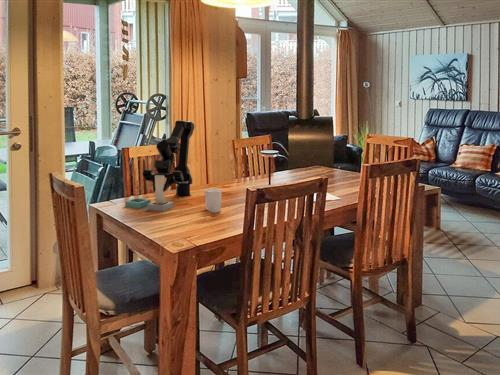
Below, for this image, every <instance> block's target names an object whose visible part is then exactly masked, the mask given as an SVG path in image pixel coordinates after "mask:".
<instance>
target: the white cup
mask: <svg viewBox="0 0 500 375" xmlns="http://www.w3.org/2000/svg"><path fill="white" fill-rule="evenodd" d="M222 190H223V189H221V188H216V187H215V188H207V189H206V188H205V189H204V199H205V200H204V202H205V209H206V211H208V212H210V213H212V214H213V213H221V208H222V192H223V191H222Z"/></svg>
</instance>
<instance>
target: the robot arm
mask: <svg viewBox="0 0 500 375" xmlns="http://www.w3.org/2000/svg"><path fill="white" fill-rule="evenodd" d="M194 131H195V124H194V123H193V121H189V120H188V121H187V120H186V121H185V120H181V119H180V120H179V119H178V120H175V123H174V127H173V129H172V132H171V134H170V136H169V137H168V138H166V139H161V141H159V142H158V143H156V150H157V153H158V154H159V157H161V160H157V159H156V160H154V168H156V169H155V171H153V170H152V169H144V170H142V173H141V174H142V176H143V178H144V180H145V181H146V182H147V181H148V182H152V189H153V192H155V175H164V177H165V185H164V189H163V191H164V192H165V193H166V190H168V189H169V188H170V187H171V186H172V185H174V184H175V185H176V186H175V194H176V195H177V196H178V197H188V196H192V195H191V188H190V187H191V185H193V177H192V174H191V170H190V168H189V166H188V161H189V148H190V146H189V145H190V138H192V136H193V134H194ZM178 153H179V154H178ZM175 154H178V162H177V163H178V164H177V165H176V166H175V167H174V170H173V164H174V162H175V161H176V159H175ZM171 172H172V173H171Z"/></svg>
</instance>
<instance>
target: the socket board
mask: <svg viewBox="0 0 500 375" xmlns="http://www.w3.org/2000/svg"><path fill="white" fill-rule="evenodd" d="M124 203H125V204H124V206H123V208H127V209H135V210H143V211H151V212H156V213H157V212H158V213H164V212H167V211H168V210H169V211H170V210H171V209H173V208H175V206H174V202H173V201H166V200H165V204H164V205H157V204H156V200H155V201H152V202H151V199H149V198H140V197H135V198H134V197H133V198H132V199H128V200H125V201H124Z"/></svg>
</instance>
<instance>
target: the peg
mask: <svg viewBox="0 0 500 375" xmlns="http://www.w3.org/2000/svg"><path fill="white" fill-rule="evenodd" d="M165 182H166V178H165V177H164V175H155V191H154V192H155V198H154V199H155V201H156V204H157V205H164V204H165V201H166V191H165V192H164V191H163V189H164V185H165Z"/></svg>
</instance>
